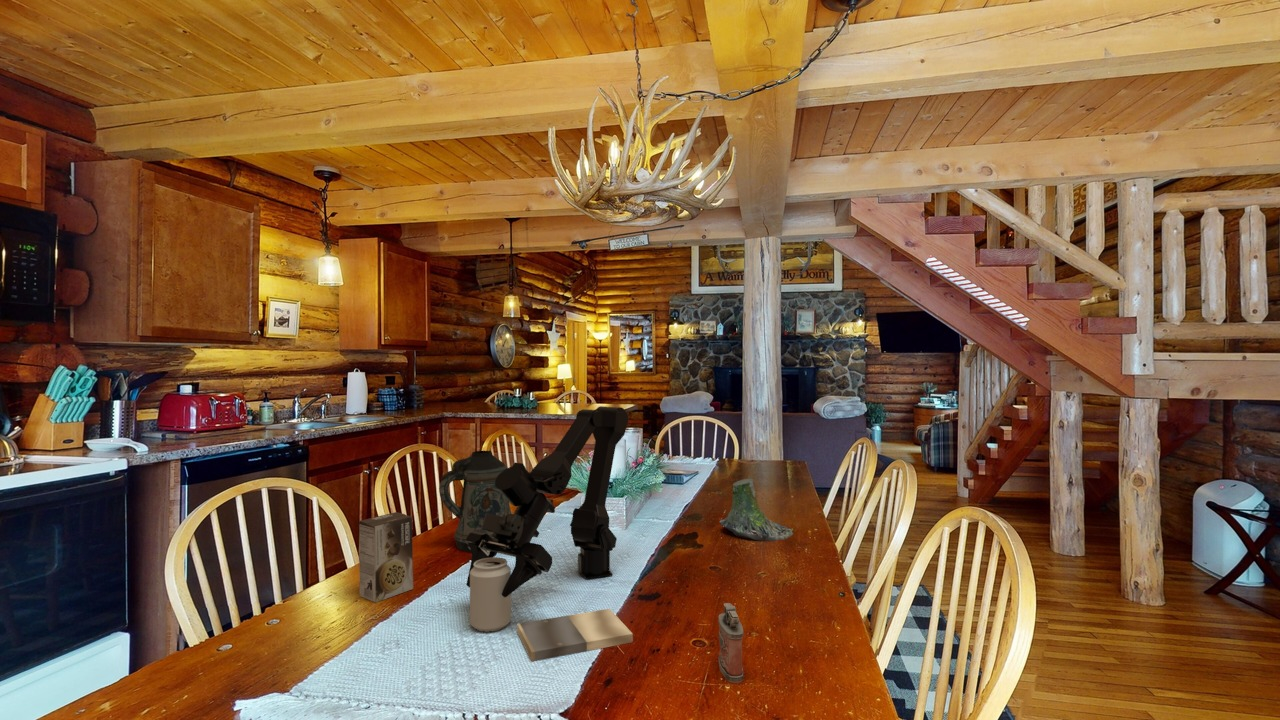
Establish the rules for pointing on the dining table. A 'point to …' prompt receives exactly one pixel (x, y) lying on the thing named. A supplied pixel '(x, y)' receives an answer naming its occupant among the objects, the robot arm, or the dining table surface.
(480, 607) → the can
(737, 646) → the lighter
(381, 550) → the coffee box
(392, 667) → the dining table surface
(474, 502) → the beer stein
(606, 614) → the subfloor panel
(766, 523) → the tree stump
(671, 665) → the dining table surface
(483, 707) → the dining table surface
